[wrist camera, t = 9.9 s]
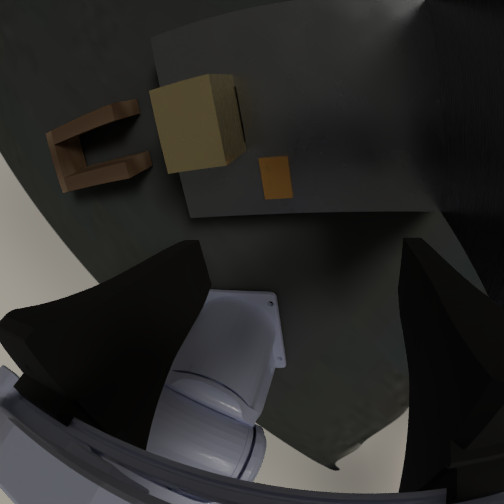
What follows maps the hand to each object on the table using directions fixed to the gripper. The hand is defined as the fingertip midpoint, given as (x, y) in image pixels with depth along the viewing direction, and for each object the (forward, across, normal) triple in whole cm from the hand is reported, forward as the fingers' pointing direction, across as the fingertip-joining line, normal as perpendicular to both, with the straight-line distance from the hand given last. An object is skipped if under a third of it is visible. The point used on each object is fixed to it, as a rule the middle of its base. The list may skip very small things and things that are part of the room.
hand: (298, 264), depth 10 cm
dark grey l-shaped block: (+10, 0, -5) cm, 11 cm away
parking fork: (+10, +15, -5) cm, 19 cm away
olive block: (+10, +5, -5) cm, 12 cm away
